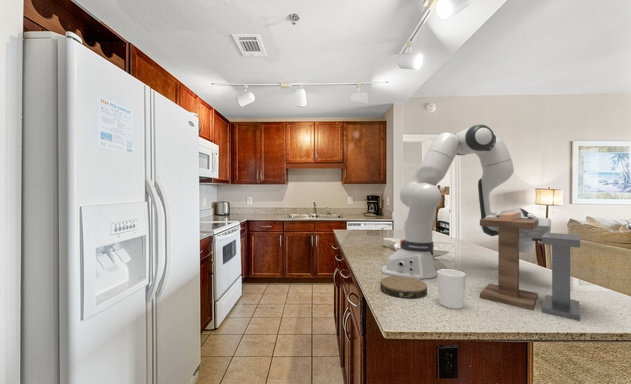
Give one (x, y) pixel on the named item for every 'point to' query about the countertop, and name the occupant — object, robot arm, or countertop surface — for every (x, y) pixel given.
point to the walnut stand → (509, 264)
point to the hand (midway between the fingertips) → (513, 214)
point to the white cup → (451, 288)
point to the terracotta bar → (510, 216)
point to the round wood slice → (403, 287)
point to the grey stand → (561, 276)
